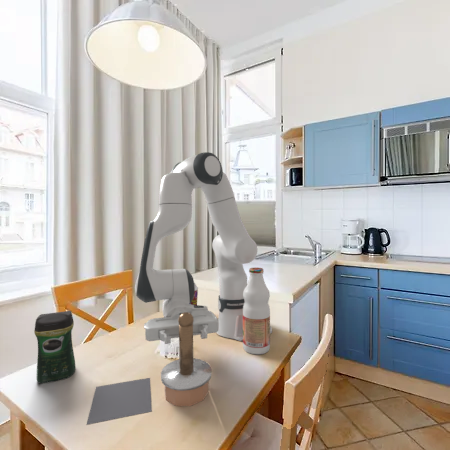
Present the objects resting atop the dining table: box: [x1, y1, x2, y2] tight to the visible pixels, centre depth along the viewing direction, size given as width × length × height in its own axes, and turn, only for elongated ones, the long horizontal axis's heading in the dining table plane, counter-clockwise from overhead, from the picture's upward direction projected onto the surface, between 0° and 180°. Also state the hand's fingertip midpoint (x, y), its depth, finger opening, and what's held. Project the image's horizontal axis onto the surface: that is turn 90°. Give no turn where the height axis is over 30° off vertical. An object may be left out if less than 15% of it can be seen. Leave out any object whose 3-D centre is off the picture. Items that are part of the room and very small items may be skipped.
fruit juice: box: [242, 267, 271, 355], centre depth 96 cm, size 9×9×28 cm
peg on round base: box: [160, 312, 212, 391], centre depth 72 cm, size 13×13×16 cm
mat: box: [86, 377, 153, 426], centre depth 70 cm, size 14×14×1 cm
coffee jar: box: [33, 310, 76, 384], centre depth 81 cm, size 10×8×19 cm
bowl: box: [164, 380, 210, 407], centre depth 73 cm, size 11×12×5 cm
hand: (186, 338), depth 71 cm, fingers open, 8 cm apart
